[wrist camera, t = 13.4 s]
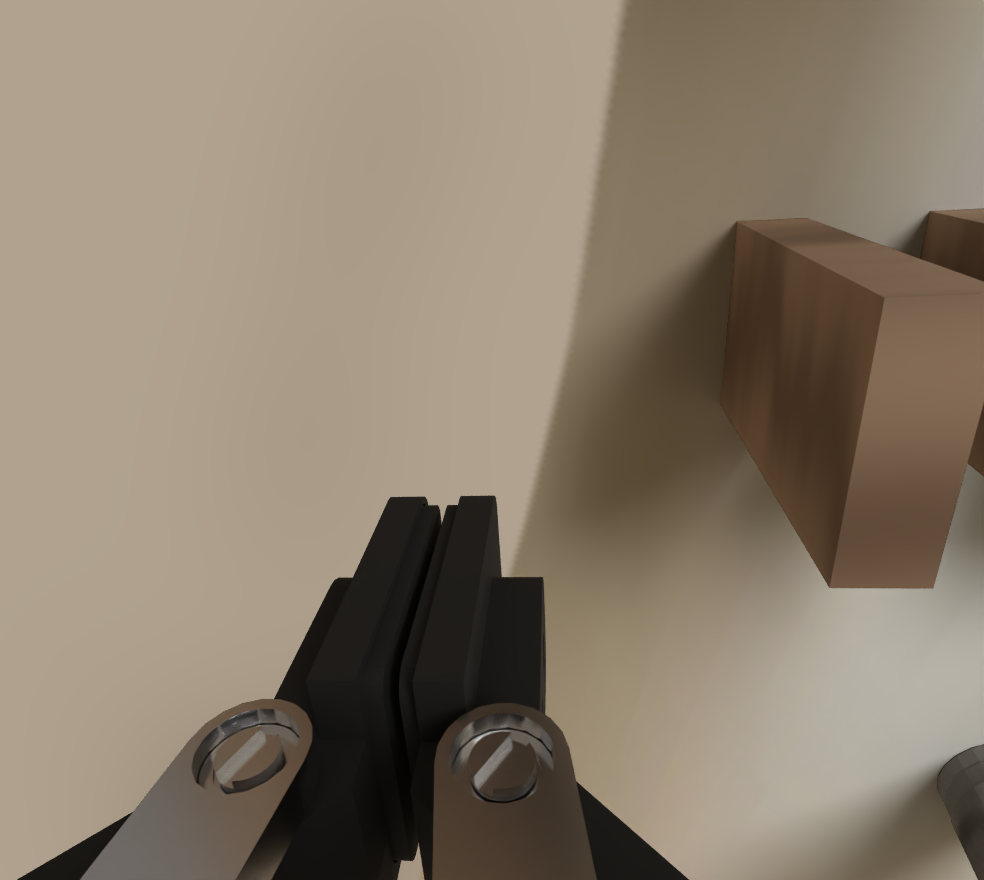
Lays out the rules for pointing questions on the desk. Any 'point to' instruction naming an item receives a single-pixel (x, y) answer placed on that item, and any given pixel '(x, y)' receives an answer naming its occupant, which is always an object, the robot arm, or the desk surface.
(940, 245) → the domino
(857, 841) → the desk surface
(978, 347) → the domino
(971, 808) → the beverage cup
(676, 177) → the desk surface
